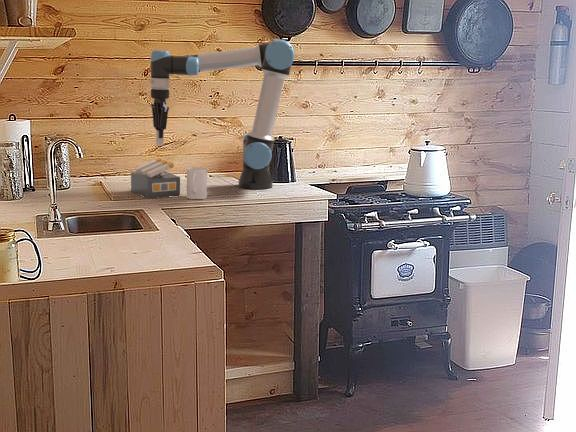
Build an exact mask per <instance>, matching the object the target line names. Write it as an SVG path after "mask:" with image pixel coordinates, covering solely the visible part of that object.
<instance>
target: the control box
mask: <svg viewBox="0 0 576 432" xmlns="http://www.w3.org/2000/svg"><path fill="white" fill-rule="evenodd" d="M130 192H132V193H134V194H136V193H137V194H136V195H138V194H139V196H140V195H142V196H144V197H143V198H145V197H146V198H145V199H147V198H155V199H158V198H157V197H167V198H170V197H169V196H178V197H180V196H181V177H180V176H178V175H176V174H173V173H170V172H168V171H164V172H162V173H159V174H157V175H155V176H153V177H151V178H150V177H148V176H147V174H146V175H143V174H141V172H140V173H138V172H136V171H133V172H130ZM179 195H180V196H179ZM142 196H141V197H142Z"/></svg>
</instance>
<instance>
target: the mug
mask: <svg viewBox="0 0 576 432" xmlns="http://www.w3.org/2000/svg"><path fill="white" fill-rule="evenodd" d="M207 176H208V169H207V168H206V167H200V166H199V167H197V166H196V167H195V166H193V167H187V168H186V196H185V198H186V197H187V198H189V199H188V200H192V199H203V200H206V199H208V193H207V192H208V191H207V190H208V189H207V188H208V185H207V184H208V181H207V179H208V177H207ZM187 198H186V199H187Z"/></svg>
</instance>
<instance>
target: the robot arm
mask: <svg viewBox="0 0 576 432" xmlns="http://www.w3.org/2000/svg"><path fill="white" fill-rule="evenodd" d="M294 50H295V49H294V47H293V45H292V44H291V43H290V42H288V41H287V40H284V39H278V38H277V39H274V40H272V41H269V42H265V43H261V44H260V43H259V44H257V45H256V46H254V47H248V48H240V49H239V48H238V49H230V50H222V51H216V52H215V51H214V52H206V53H198V54H190V55H183V56H181V55H177V56H175V55H171V54H170V50H155V49H154V50H152V51H151V53H150V56H151V57H150V80H149V82H150V87H151V89H150V98H152V99H153V103H152V104H151V105H150V107H151V112H152V123H153V124H152V125H153V128H154V129H155V146H157V147H161V146H162V147H163V146H164V131H165V130H166V129H167V123H168V115H169V110H170V107H169V106H167V100H168V99H169V98H170V90H169V89H170V75H181V76H190V77H191V76H197V75H198V74H199V73H203V72H212V71H213V72H214V71H221V70H227V69H237V68H244V67H245V68H246V67H253V66H254V67H255V66H258V67H260V68H261V71H262V73H263V78H262V84H261V87H260V94H259V96H258V101H257V102H258V103H257V106H256V111H255V116H254V121H253V125H252V129H251V130H250V131H249V132H248V133H247V134H244V136H243V140H242V145H243V146H242V169H241V173H240V175H239V179H238V187H240V188H242V189H248V190H266V189H272V188H273V178H272V175H271V172H270V163H271V161H272V159H273V158H272V157H273V153H272V152H273V148H274V144H275V137H273V132H274V127H275V123H276V119H277V114H278V110H279V104H280V102H281V100H280V99H281V97H282V96H281V95H282V91H283V89H284V88H283V87H284V82H285V79H286V78H288V77H290V72H291V69H292V65H293V62H294V60H295V56H296V55H295V51H294ZM166 99H167V100H166Z"/></svg>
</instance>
